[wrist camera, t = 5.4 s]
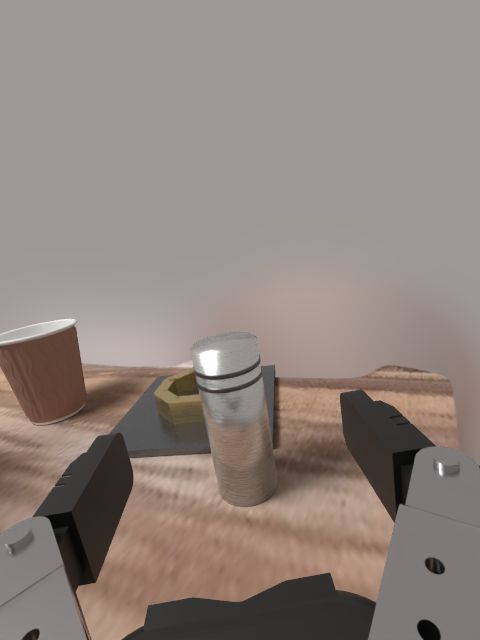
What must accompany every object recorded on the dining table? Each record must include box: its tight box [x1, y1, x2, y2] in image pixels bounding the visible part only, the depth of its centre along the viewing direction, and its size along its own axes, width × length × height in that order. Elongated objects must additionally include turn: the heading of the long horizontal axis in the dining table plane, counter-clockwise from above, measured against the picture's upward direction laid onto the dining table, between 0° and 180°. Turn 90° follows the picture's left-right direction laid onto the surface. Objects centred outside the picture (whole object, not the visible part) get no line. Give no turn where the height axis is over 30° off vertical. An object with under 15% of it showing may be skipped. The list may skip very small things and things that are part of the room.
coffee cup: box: [0, 319, 86, 425], centre depth 43 cm, size 10×10×12 cm
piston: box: [190, 332, 278, 507], centre depth 24 cm, size 5×5×12 cm
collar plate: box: [109, 365, 275, 458], centre depth 39 cm, size 18×18×3 cm
